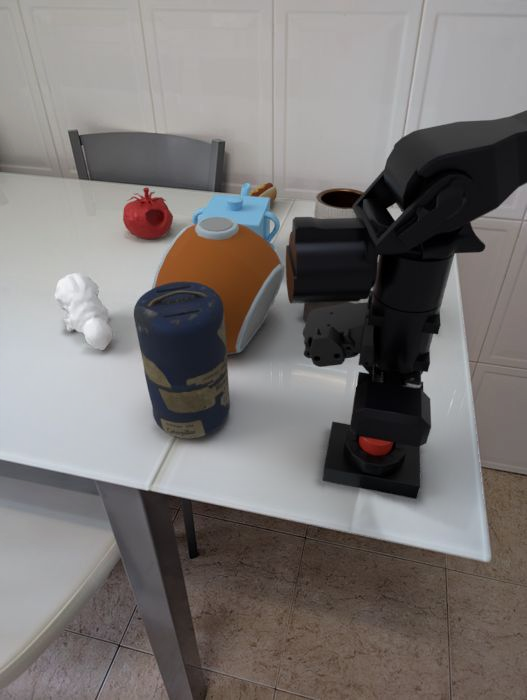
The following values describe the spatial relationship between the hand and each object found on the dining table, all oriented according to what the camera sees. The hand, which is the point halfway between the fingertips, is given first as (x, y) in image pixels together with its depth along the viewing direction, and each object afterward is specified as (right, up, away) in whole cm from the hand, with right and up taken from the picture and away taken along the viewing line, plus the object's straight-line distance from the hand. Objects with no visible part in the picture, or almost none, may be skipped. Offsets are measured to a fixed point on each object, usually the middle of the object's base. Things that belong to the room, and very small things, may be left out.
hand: (380, 422), depth 52 cm
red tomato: (-36, +32, +51) cm, 70 cm away
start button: (0, -3, +2) cm, 3 cm away
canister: (-21, -1, +10) cm, 23 cm away
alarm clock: (-19, +10, +25) cm, 33 cm away
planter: (+3, +28, +47) cm, 55 cm away
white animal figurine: (-38, +10, +23) cm, 46 cm away
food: (-14, +39, +61) cm, 73 cm away
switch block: (0, -5, +4) cm, 7 cm away
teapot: (-17, +25, +43) cm, 52 cm away
